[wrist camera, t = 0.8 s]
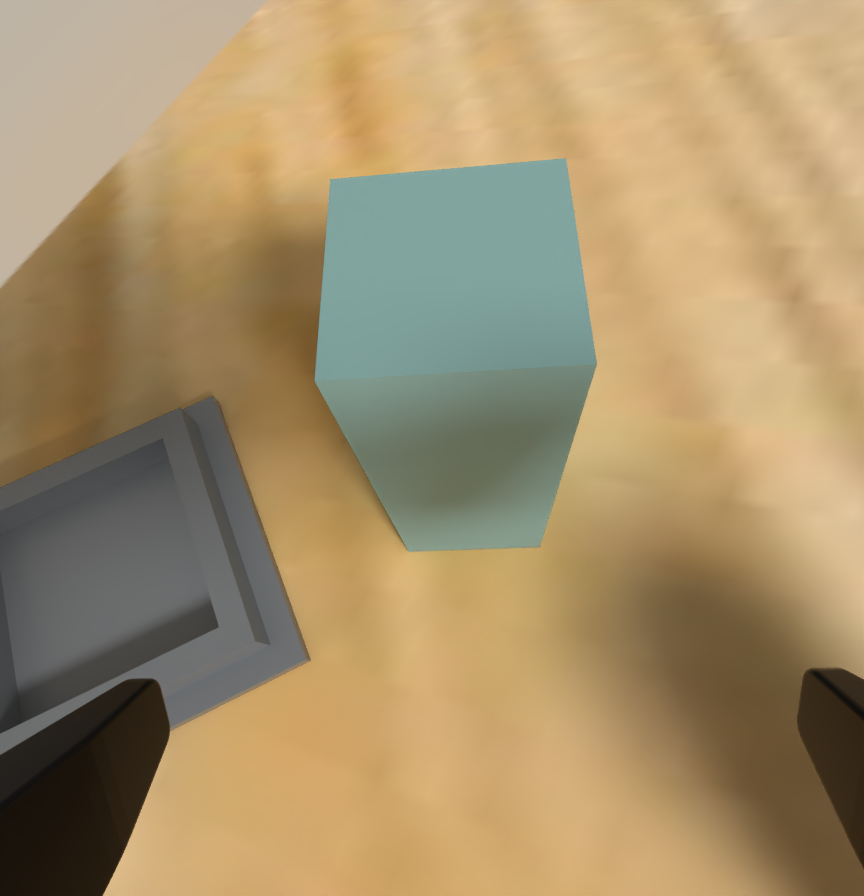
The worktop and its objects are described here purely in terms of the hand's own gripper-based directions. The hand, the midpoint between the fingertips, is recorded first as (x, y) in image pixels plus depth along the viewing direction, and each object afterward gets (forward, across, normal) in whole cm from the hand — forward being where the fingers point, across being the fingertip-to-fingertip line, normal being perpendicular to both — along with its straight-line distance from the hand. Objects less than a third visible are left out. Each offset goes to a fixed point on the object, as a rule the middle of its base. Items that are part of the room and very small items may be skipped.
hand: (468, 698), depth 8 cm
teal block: (+15, 0, +3) cm, 15 cm away
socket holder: (+13, +14, +5) cm, 20 cm away
